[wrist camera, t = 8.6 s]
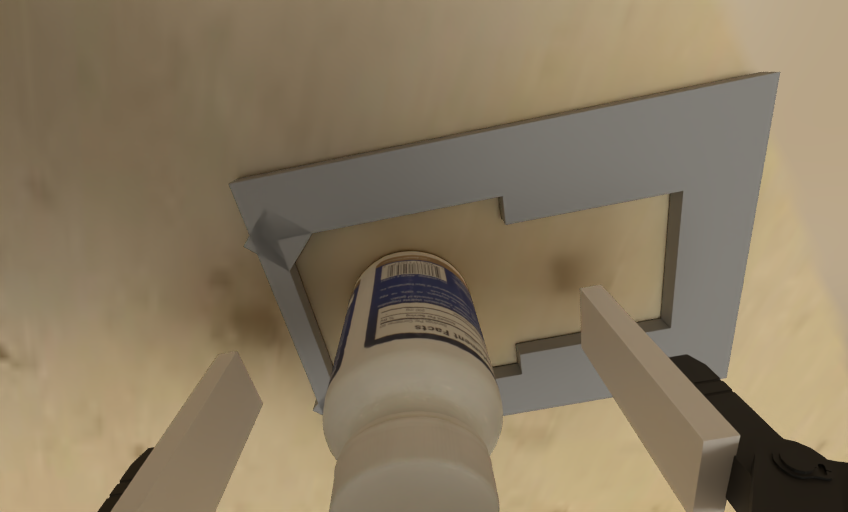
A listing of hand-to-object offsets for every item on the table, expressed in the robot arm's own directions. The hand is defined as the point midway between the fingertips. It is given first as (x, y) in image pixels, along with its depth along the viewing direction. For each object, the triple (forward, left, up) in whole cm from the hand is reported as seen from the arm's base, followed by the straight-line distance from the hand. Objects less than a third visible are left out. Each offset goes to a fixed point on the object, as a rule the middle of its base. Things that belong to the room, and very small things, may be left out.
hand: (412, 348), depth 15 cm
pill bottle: (0, 0, -3) cm, 3 cm away
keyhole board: (0, +4, -3) cm, 6 cm away
